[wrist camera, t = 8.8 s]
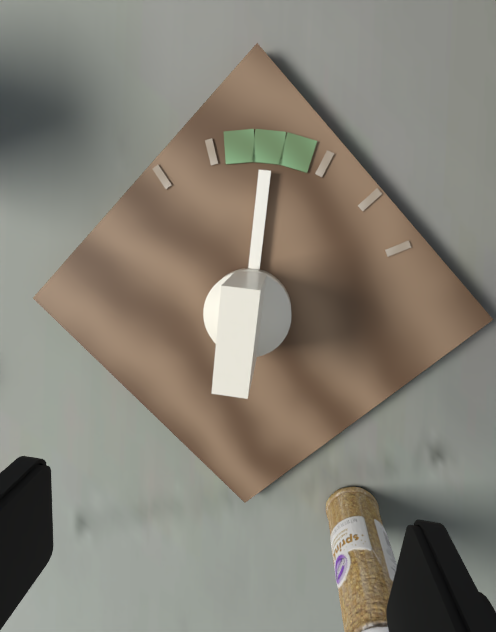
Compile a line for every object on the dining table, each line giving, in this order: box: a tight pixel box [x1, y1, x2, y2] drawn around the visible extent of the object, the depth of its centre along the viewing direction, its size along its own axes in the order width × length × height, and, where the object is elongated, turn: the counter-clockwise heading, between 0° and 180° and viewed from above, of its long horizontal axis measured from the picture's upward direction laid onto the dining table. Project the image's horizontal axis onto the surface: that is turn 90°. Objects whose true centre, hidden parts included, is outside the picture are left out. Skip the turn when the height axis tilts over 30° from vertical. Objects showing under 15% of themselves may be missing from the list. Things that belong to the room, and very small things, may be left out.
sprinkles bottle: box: [326, 487, 397, 632], centre depth 26 cm, size 5×5×14 cm
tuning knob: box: [203, 170, 291, 399], centre depth 23 cm, size 12×6×8 cm, turn 174°
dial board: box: [33, 43, 493, 502], centre depth 28 cm, size 24×24×2 cm
